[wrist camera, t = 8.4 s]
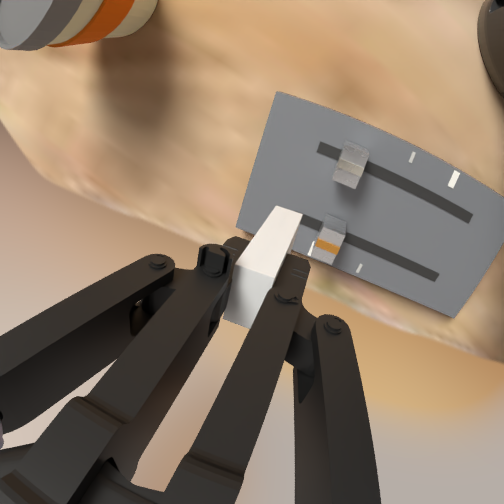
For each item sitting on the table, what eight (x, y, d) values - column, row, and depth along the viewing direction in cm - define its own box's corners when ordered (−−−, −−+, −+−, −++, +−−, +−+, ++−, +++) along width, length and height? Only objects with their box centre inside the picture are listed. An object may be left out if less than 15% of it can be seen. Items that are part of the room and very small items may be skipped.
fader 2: (367, 149, 25) (369, 155, 22) (355, 179, 26) (355, 189, 24) (345, 139, 25) (344, 144, 22) (333, 170, 27) (331, 179, 24)
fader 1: (346, 222, 28) (345, 236, 26) (334, 248, 30) (331, 265, 27) (326, 213, 29) (322, 227, 26) (314, 240, 30) (310, 257, 27)
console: (512, 203, 24) (521, 210, 22) (450, 307, 31) (454, 319, 29) (281, 92, 27) (276, 91, 25) (241, 220, 34) (235, 227, 32)
